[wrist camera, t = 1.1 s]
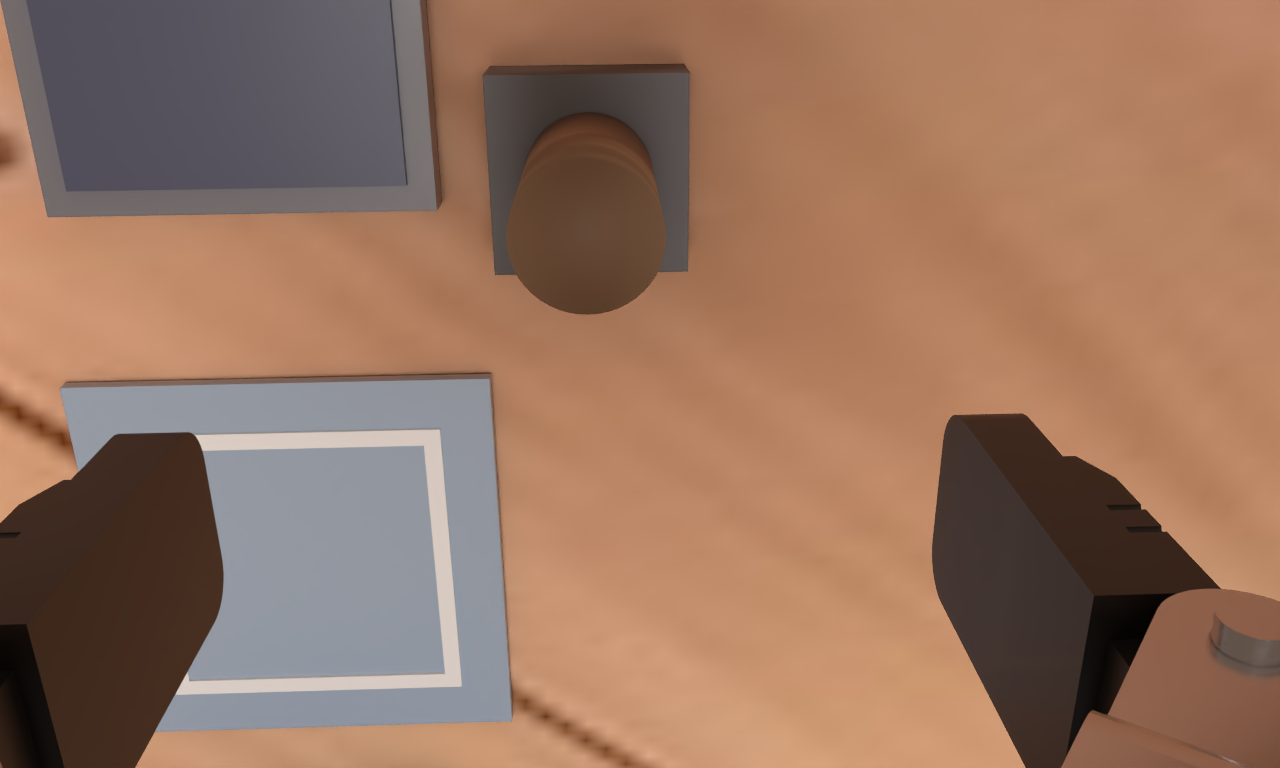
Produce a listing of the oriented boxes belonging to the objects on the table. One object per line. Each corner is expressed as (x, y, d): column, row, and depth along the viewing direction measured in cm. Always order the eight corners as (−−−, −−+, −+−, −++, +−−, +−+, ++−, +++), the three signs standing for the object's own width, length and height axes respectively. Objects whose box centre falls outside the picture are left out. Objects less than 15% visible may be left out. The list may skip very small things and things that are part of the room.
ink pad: (416, -126, 27) (407, -128, 25) (441, 201, 30) (436, 212, 29) (-5, -122, 26) (-31, -124, 25) (65, 207, 29) (44, 219, 28)
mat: (490, 373, 32) (489, 380, 31) (512, 713, 36) (511, 722, 36) (66, 382, 31) (58, 389, 31) (142, 723, 36) (136, 734, 35)
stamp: (683, 63, 29) (712, 109, 21) (682, 250, 30) (709, 352, 23) (490, 66, 28) (451, 113, 21) (501, 253, 30) (469, 357, 23)
